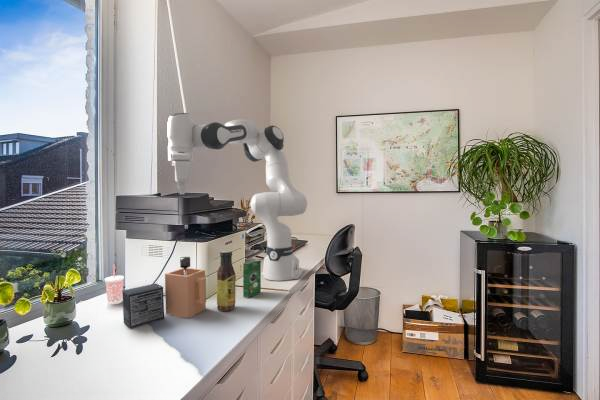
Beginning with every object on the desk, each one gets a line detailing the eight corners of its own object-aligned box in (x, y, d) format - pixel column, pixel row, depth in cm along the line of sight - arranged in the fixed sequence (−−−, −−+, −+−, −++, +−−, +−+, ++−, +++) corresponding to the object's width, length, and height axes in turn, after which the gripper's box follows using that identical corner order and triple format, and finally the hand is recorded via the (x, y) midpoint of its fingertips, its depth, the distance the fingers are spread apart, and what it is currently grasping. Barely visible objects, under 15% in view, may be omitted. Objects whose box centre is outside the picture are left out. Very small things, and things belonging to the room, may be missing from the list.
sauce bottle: (231, 312, 111) (230, 253, 110) (213, 311, 112) (212, 253, 111) (238, 305, 117) (237, 249, 116) (222, 304, 118) (221, 249, 117)
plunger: (185, 302, 116) (184, 254, 115) (200, 305, 114) (199, 256, 113) (171, 309, 110) (170, 259, 109) (187, 312, 108) (186, 260, 107)
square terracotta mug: (185, 304, 118) (184, 267, 117) (213, 309, 113) (212, 270, 112) (165, 314, 109) (164, 273, 109) (195, 320, 105) (194, 277, 104)
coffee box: (255, 291, 133) (255, 258, 132) (261, 292, 131) (261, 259, 131) (242, 297, 126) (242, 262, 125) (248, 298, 124) (248, 263, 124)
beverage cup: (101, 304, 119) (99, 265, 118) (115, 298, 124) (113, 261, 124) (115, 306, 117) (113, 266, 116) (128, 300, 123) (127, 262, 122)
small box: (157, 313, 110) (156, 282, 110) (165, 319, 106) (164, 286, 105) (122, 322, 103) (121, 289, 103) (129, 329, 98) (128, 294, 98)
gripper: (170, 158, 132) (171, 193, 133) (172, 154, 113) (173, 195, 114) (187, 158, 134) (188, 193, 135) (191, 155, 115) (192, 194, 116)
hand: (181, 194), depth 124 cm, fingers open, 8 cm apart
